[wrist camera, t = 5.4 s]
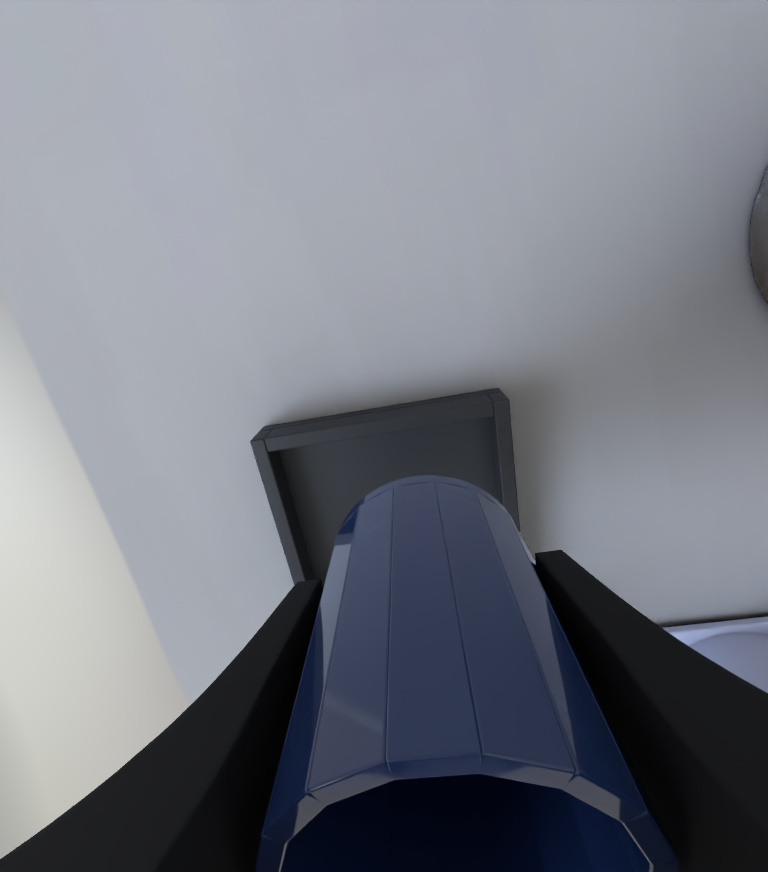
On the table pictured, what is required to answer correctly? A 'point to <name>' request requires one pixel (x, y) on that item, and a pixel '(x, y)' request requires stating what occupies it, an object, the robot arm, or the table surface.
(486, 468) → the tray
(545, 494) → the table surface
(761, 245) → the pillar candle
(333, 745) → the cup
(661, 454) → the table surface
